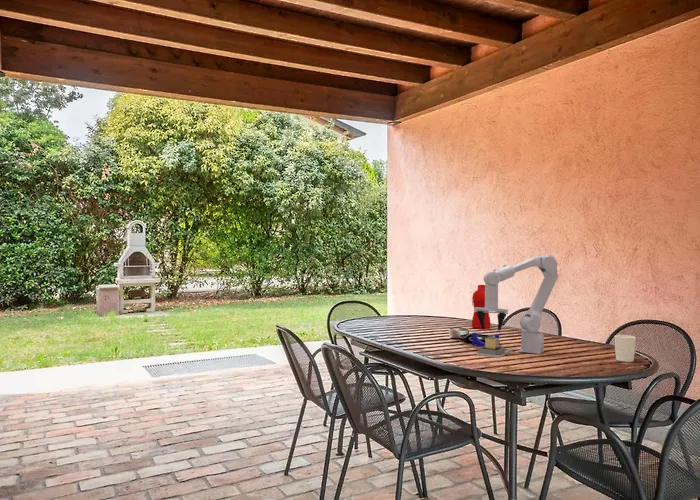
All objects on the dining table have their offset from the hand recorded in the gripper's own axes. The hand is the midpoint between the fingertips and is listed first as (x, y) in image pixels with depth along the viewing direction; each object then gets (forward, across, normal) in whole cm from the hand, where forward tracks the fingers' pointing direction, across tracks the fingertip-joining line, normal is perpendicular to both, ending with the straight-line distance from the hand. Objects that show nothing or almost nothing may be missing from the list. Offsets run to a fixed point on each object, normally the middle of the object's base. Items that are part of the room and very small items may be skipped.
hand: (491, 329), depth 252 cm
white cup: (+10, +53, +14) cm, 55 cm away
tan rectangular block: (+9, +3, -8) cm, 12 cm away
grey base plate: (+10, +3, -4) cm, 11 cm away
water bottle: (+10, -29, +66) cm, 73 cm away
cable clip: (+10, -6, +12) cm, 17 cm away
